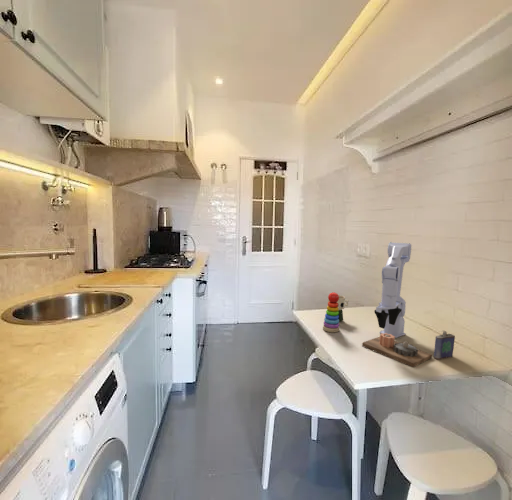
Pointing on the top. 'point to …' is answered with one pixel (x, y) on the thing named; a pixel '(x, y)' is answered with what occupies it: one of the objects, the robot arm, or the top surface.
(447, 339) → the flask
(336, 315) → the stacking toy
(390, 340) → the terracotta gear
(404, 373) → the top surface
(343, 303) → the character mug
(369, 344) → the board
